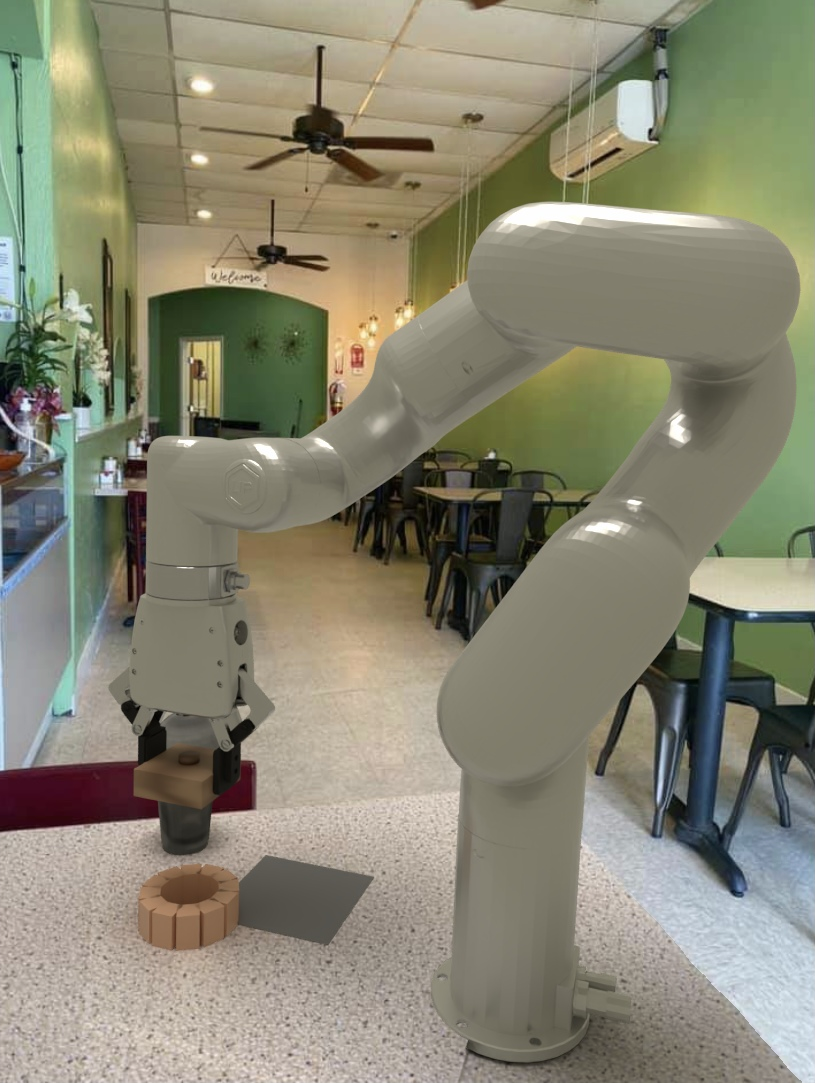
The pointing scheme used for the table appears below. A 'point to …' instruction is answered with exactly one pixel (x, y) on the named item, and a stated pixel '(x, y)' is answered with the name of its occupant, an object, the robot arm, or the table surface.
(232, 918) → the bowl
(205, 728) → the beverage cup
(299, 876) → the mat
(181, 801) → the lid
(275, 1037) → the table surface
